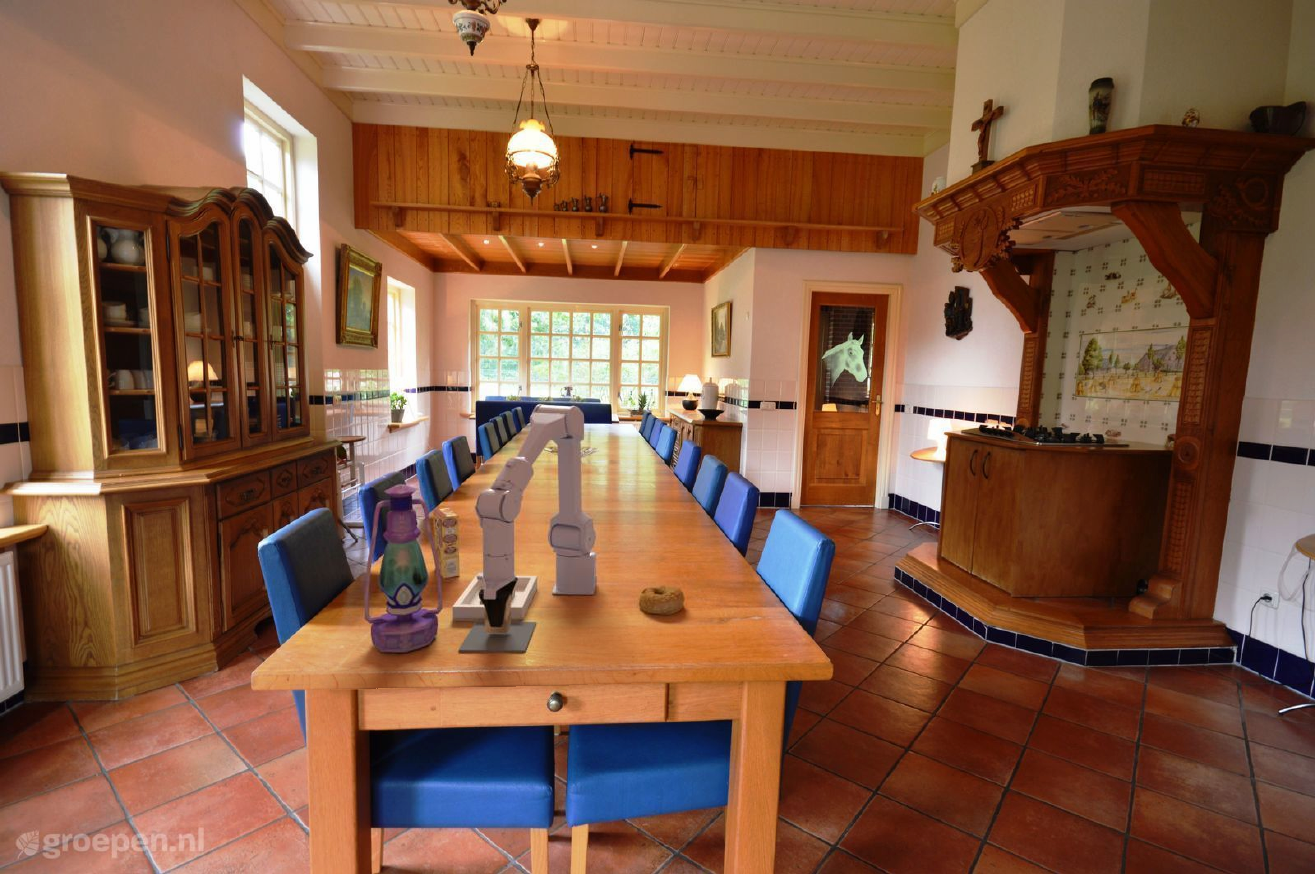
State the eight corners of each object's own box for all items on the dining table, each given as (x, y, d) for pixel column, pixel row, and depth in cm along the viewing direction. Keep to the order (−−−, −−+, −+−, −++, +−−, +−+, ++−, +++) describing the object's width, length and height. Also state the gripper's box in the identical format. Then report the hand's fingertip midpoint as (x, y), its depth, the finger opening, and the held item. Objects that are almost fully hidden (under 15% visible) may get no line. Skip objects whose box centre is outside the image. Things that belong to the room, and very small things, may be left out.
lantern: (364, 662, 104) (358, 493, 100) (367, 633, 114) (361, 480, 111) (445, 649, 109) (441, 488, 105) (440, 623, 120) (437, 476, 116)
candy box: (460, 576, 146) (459, 515, 144) (442, 579, 143) (441, 517, 142) (450, 565, 153) (449, 507, 151) (433, 568, 151) (432, 509, 149)
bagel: (676, 595, 137) (677, 575, 136) (689, 616, 126) (690, 594, 126) (634, 599, 135) (634, 579, 134) (643, 620, 124) (644, 598, 124)
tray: (537, 588, 139) (537, 575, 139) (522, 621, 121) (522, 607, 121) (476, 587, 139) (476, 575, 138) (452, 620, 121) (452, 606, 120)
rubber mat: (536, 623, 120) (536, 621, 120) (525, 652, 109) (525, 650, 108) (476, 623, 120) (476, 621, 120) (458, 651, 108) (458, 649, 108)
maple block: (511, 624, 116) (510, 594, 115) (506, 633, 112) (506, 602, 111) (490, 623, 116) (490, 594, 115) (485, 633, 112) (484, 602, 111)
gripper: (486, 540, 119) (487, 605, 121) (466, 564, 105) (467, 638, 107) (522, 540, 119) (522, 605, 121) (506, 565, 105) (507, 638, 107)
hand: (499, 620), depth 114 cm, fingers closed on maple block, 4 cm apart
